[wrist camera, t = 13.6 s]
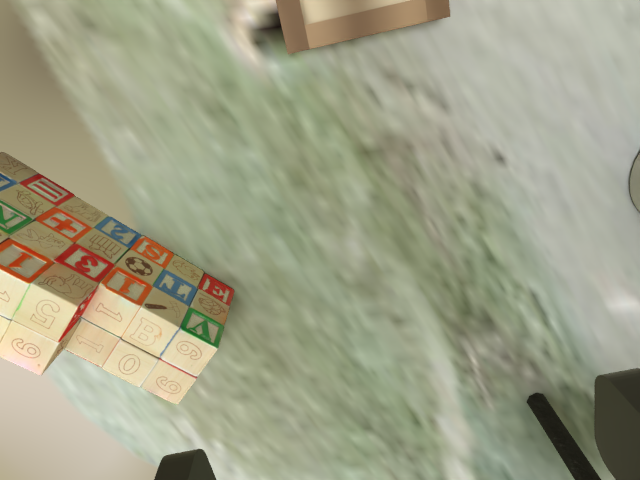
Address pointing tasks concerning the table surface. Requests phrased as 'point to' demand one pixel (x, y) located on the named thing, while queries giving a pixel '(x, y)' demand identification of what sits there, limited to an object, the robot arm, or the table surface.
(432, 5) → the wooden serving tray
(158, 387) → the stack of blocks
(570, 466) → the solar garden light
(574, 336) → the table surface
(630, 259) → the table surface
